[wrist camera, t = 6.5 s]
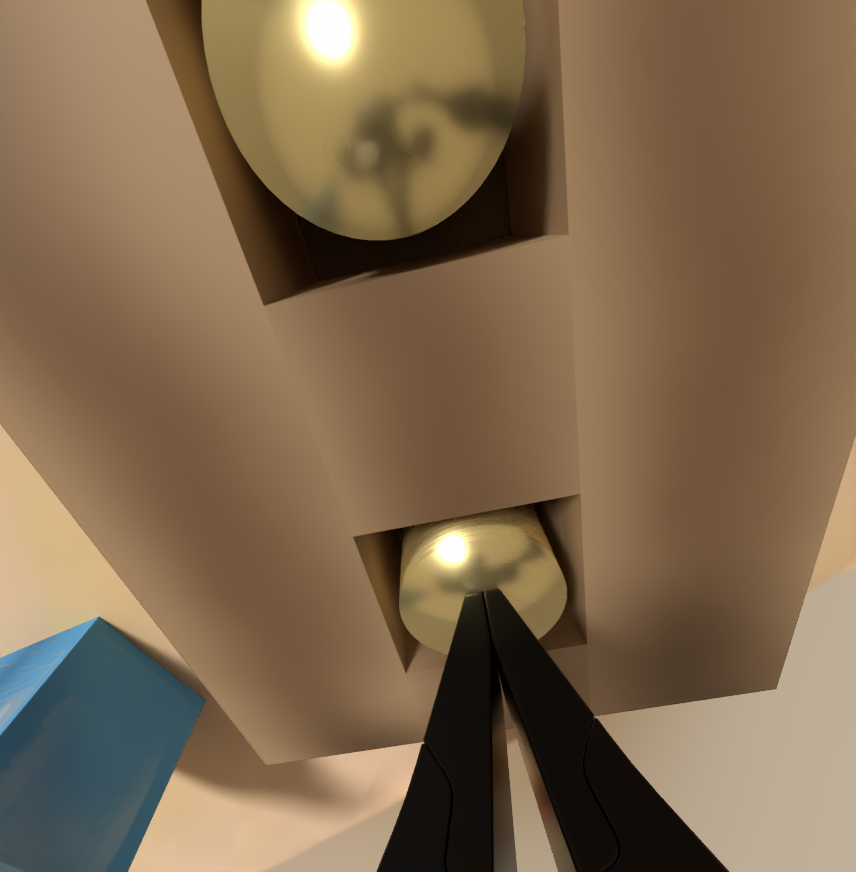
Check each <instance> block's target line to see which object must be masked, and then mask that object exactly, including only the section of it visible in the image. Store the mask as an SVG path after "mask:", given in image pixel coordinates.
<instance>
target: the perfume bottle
mask: <svg viewBox="0 0 856 872" xmlns="http://www.w3.org/2000/svg"><path fill="white" fill-rule="evenodd" d="M204 702H205V700H204V699H203V698H202V697H200V696H199V695H198V694H197V693H195V692H194V691H193V690H192V689H190V688H189V687H188V686H187V685H185V684H184V683H183V682H181V681H180V680H179V679H178V678H176V677H175V676H174V675H173V674H171V673H170V672H169V671H167V670H166V669H165V668H164V667H162V666H161V665H160V664H159V663H157V662H156V661H155V660H153V659H152V658H151V657H150V656H148V655H147V654H146V653H145V652H143V651H142V650H141V649H139V648H138V647H137V646H136V645H134V644H133V643H132V642H131V641H129V640H128V639H127V638H125V637H124V636H123V635H122V634H120V633H119V632H118V631H117V630H115V629H114V628H113V627H111V626H110V625H109V624H108V623H106V622H105V621H104V620H103V619H101V618H100V617H97V618H95V619H92V620H90V621H87V622H85V623H83V624H80V625H78V626H76V627H73V628H71V629H68V630H66V631H64V632H61V633H59V634H56V635H54V636H52V637H49V638H47V639H44V640H42V641H40V642H37V643H35V644H33V645H30V646H28V647H25V648H23V649H21V650H18V651H16V652H13V653H11V654H9V655H6V656H4V657H1V658H0V872H128V870H129V868H130V866H131V864H132V861H133V859H134V857H135V855H136V853H137V850H138V848H139V846H140V844H141V842H142V839H143V837H144V835H145V833H146V830H147V828H148V826H149V824H150V822H151V819H152V817H153V815H154V813H155V811H156V808H157V806H158V804H159V802H160V800H161V797H162V795H163V793H164V791H165V789H166V786H167V784H168V782H169V780H170V777H171V775H172V773H173V771H174V769H175V766H176V764H177V762H178V760H179V758H180V755H181V753H182V751H183V749H184V747H185V744H186V742H187V740H188V738H189V736H190V733H191V731H192V729H193V727H194V724H195V722H196V720H197V718H198V716H199V713H200V711H201V709H202V707H203V705H204Z"/></svg>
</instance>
